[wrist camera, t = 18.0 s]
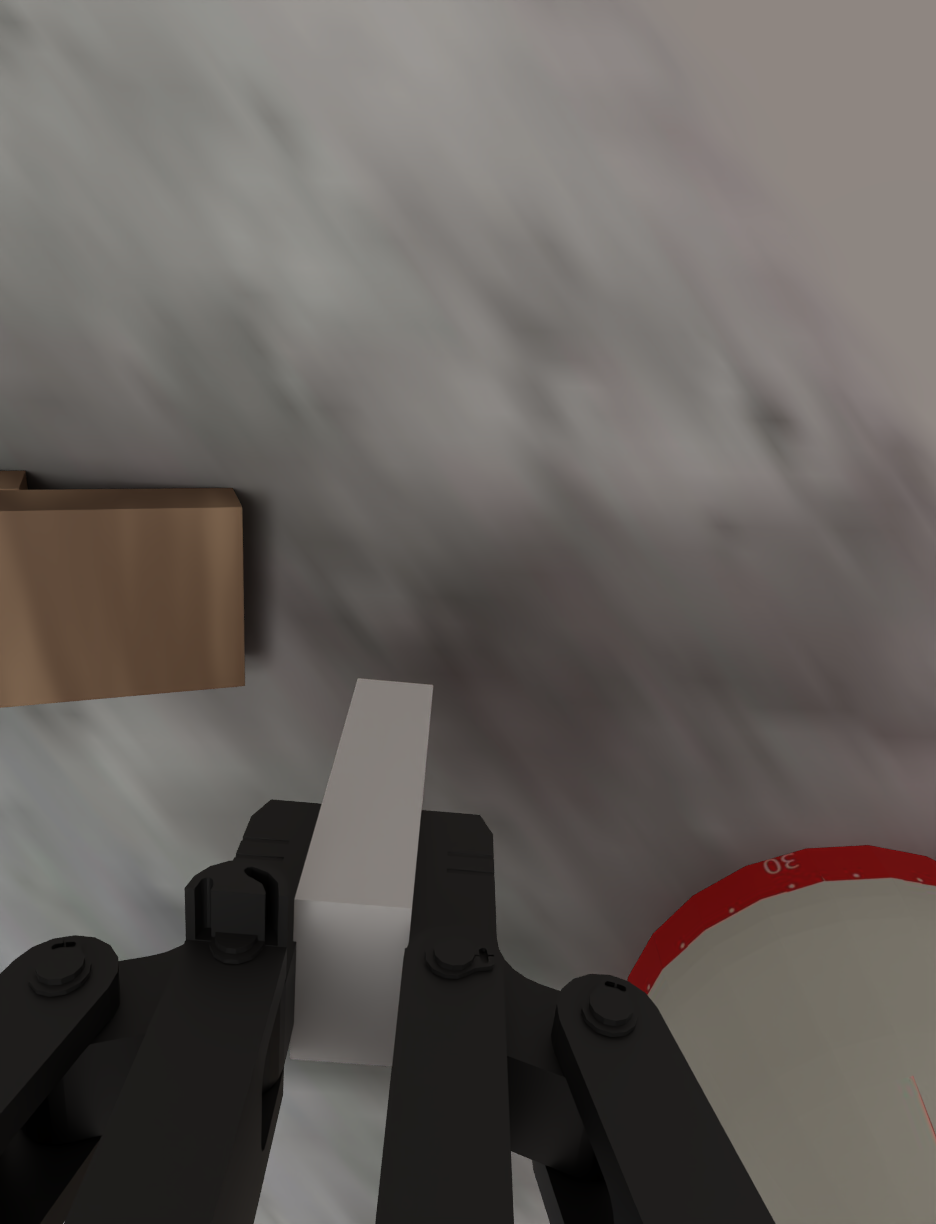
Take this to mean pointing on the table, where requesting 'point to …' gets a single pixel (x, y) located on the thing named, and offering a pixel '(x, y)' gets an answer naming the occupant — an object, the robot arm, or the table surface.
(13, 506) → the domino
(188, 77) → the table surface
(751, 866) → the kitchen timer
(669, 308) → the table surface
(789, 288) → the table surface
